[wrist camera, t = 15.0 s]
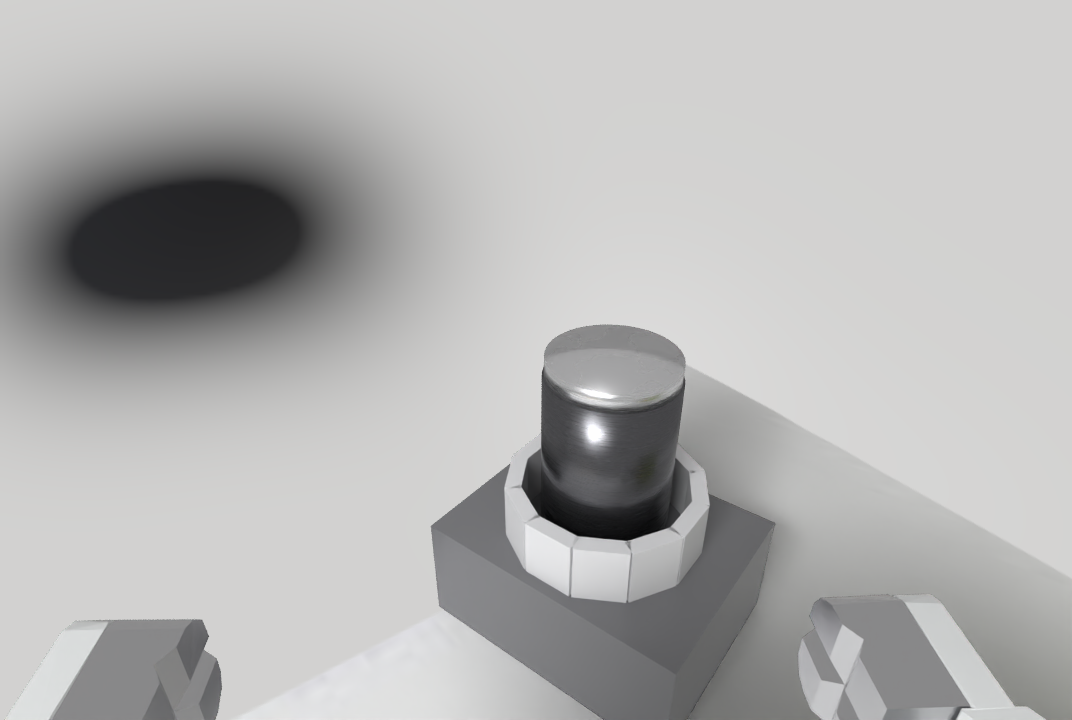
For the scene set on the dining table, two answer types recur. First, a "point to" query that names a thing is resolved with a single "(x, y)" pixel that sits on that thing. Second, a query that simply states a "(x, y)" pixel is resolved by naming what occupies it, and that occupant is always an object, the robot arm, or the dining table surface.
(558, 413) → the dark grey metallic cylinder
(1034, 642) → the dining table surface
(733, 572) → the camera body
